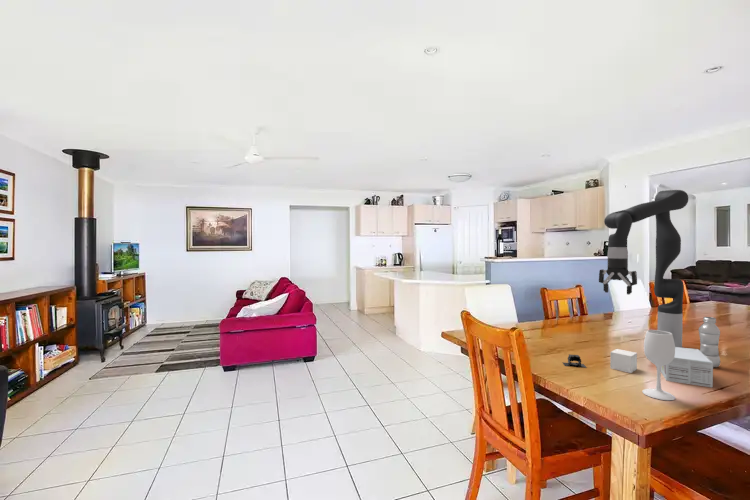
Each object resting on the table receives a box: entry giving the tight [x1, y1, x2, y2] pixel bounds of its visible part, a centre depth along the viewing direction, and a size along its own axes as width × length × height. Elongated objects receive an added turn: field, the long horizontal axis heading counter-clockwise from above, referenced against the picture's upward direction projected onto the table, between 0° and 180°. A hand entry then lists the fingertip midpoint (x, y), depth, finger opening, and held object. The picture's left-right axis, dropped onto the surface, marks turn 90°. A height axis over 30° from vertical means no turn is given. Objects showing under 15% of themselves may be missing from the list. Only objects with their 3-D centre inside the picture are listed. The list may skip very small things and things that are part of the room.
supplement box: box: [661, 347, 714, 388], centre depth 136 cm, size 17×13×9 cm
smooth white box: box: [609, 348, 638, 374], centre depth 144 cm, size 7×7×7 cm
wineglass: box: [641, 329, 677, 401], centre depth 119 cm, size 9×9×21 cm
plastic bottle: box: [698, 316, 721, 368], centre depth 146 cm, size 6×7×20 cm
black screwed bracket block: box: [561, 354, 588, 369], centre depth 149 cm, size 12×7×5 cm, turn 75°
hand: (617, 293), depth 161 cm, fingers open, 8 cm apart
